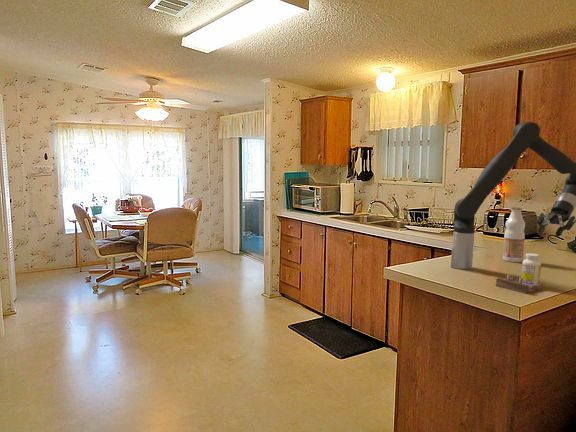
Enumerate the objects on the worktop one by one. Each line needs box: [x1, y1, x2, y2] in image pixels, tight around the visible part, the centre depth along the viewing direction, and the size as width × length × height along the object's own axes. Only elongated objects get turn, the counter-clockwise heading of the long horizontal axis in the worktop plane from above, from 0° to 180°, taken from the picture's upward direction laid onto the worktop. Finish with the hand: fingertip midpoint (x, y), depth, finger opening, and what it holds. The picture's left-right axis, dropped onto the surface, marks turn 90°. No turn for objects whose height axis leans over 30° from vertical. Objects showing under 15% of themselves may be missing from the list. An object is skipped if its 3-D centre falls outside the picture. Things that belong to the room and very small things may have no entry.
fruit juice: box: [502, 206, 526, 263], centre depth 218 cm, size 9×9×28 cm
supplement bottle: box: [520, 253, 542, 286], centre depth 173 cm, size 7×7×13 cm
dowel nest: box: [495, 274, 543, 294], centre depth 169 cm, size 12×12×5 cm
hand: (548, 234), depth 177 cm, fingers open, 6 cm apart
